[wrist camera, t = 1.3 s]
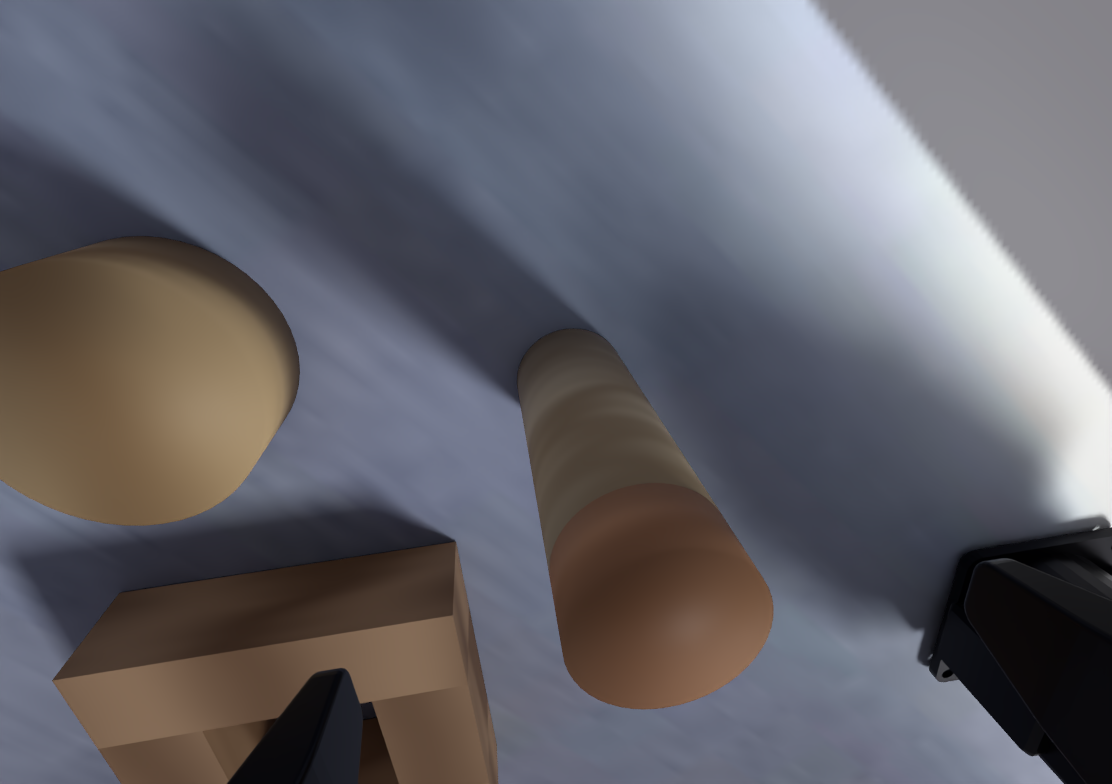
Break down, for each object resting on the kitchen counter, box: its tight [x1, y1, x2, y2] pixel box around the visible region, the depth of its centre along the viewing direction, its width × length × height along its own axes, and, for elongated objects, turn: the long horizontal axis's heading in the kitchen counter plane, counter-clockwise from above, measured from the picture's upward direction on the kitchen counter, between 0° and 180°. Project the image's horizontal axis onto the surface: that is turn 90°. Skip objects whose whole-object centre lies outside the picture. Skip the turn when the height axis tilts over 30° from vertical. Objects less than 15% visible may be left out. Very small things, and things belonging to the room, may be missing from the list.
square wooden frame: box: [52, 542, 498, 784], centre depth 18 cm, size 10×10×3 cm
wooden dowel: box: [517, 329, 773, 709], centre depth 12 cm, size 3×3×9 cm
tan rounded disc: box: [0, 236, 300, 526], centre depth 13 cm, size 6×6×3 cm
